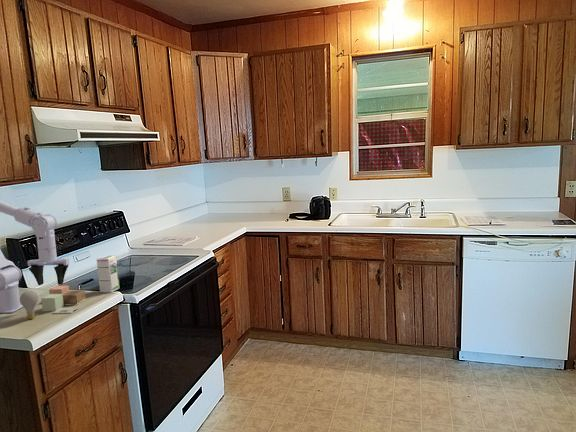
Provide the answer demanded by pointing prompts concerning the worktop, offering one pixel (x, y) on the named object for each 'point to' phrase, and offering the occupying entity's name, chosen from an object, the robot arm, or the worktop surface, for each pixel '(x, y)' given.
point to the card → (63, 310)
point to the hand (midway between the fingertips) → (50, 284)
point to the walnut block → (73, 297)
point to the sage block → (52, 302)
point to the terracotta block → (59, 290)
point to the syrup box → (108, 273)
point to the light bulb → (29, 302)
